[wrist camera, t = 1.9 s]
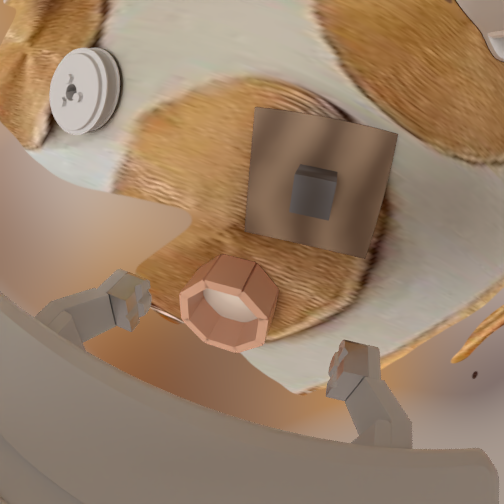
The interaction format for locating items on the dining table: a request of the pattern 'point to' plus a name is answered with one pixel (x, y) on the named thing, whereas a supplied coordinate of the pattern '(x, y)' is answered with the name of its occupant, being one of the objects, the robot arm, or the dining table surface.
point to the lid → (84, 90)
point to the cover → (317, 180)
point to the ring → (229, 303)
